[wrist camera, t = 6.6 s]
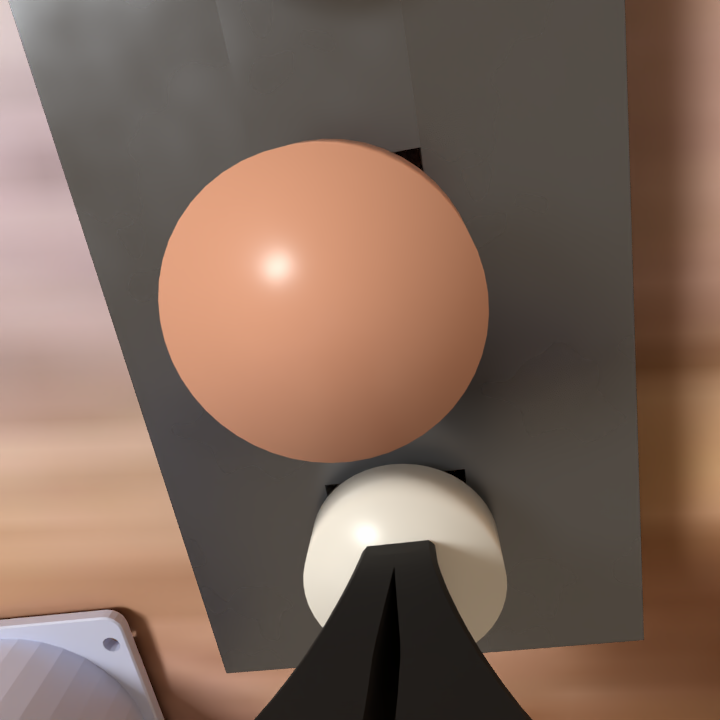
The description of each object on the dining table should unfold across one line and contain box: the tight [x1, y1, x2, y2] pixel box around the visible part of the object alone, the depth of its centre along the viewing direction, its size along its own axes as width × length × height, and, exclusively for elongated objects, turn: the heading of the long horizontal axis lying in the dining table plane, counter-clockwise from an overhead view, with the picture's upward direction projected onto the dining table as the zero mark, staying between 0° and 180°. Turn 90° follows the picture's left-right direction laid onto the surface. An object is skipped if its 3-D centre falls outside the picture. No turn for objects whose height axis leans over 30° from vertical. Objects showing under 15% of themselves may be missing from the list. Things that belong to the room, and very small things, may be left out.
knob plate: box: [8, 0, 644, 673], centre depth 13 cm, size 20×10×3 cm, turn 10°
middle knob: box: [158, 139, 489, 463], centre depth 10 cm, size 4×4×4 cm
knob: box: [303, 464, 507, 642], centre depth 15 cm, size 4×4×4 cm
